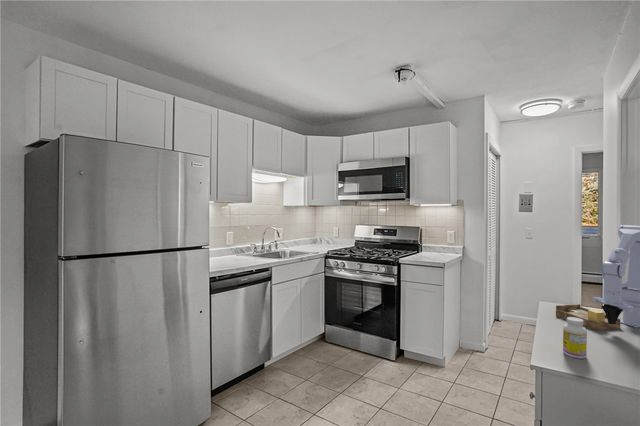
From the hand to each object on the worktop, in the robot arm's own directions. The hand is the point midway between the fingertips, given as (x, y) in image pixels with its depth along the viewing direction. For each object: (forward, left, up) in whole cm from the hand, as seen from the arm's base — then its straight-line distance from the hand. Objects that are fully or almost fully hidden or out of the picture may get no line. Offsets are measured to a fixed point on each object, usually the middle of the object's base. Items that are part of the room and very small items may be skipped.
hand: (612, 323), depth 138 cm
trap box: (-2, -13, -4) cm, 14 cm away
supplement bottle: (+34, +14, -4) cm, 37 cm away
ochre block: (0, -7, -1) cm, 7 cm away
